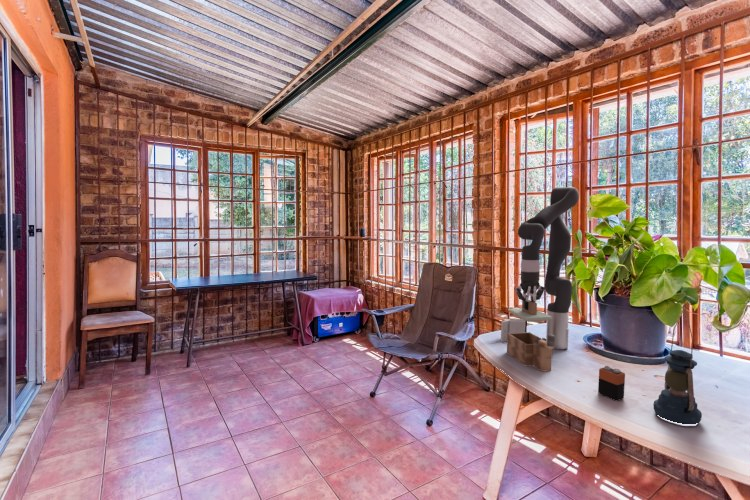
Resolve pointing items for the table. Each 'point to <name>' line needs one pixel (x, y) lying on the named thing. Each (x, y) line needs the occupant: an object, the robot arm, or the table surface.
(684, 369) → the lantern
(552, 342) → the bolt
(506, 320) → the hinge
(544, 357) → the toolbox
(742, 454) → the table surface
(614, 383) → the battery
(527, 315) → the lid
